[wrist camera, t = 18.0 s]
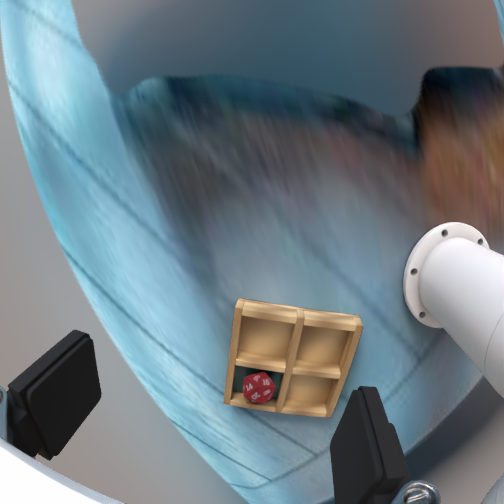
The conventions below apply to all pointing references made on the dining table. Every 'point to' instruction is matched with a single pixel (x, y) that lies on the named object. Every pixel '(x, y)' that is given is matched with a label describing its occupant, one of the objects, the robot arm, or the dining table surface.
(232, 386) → the wooden compartment tray
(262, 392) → the dice
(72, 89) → the dining table surface
